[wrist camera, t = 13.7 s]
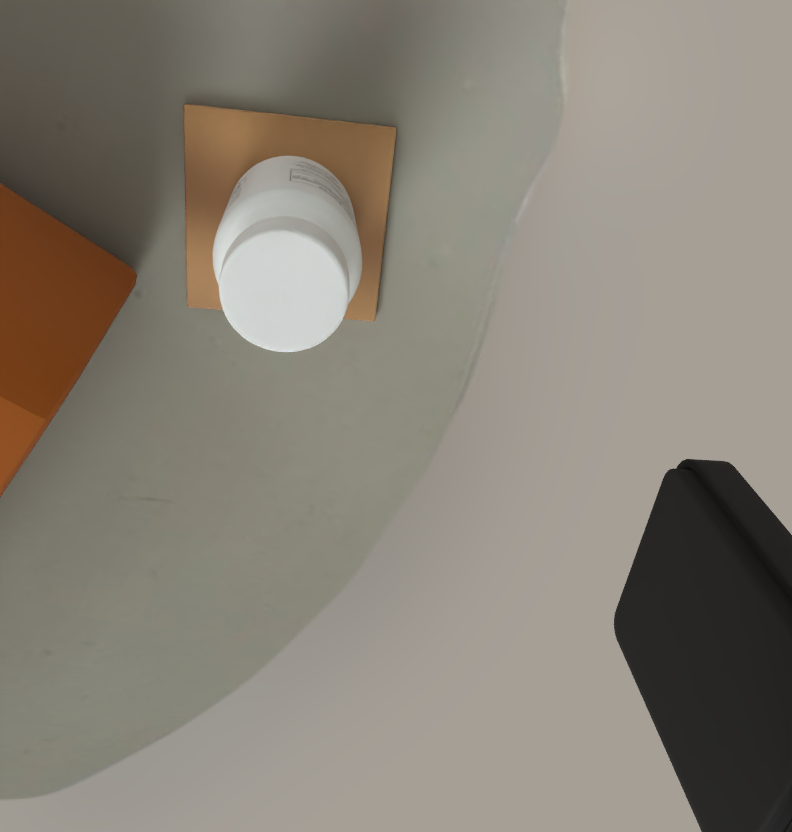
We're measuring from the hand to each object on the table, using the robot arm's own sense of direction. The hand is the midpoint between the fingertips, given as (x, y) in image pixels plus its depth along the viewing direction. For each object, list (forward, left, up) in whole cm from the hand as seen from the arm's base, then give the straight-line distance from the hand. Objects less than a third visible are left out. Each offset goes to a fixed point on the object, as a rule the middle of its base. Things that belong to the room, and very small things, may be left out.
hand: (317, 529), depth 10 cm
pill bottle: (+1, -1, -19) cm, 19 cm away
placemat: (+1, -1, -19) cm, 19 cm away
